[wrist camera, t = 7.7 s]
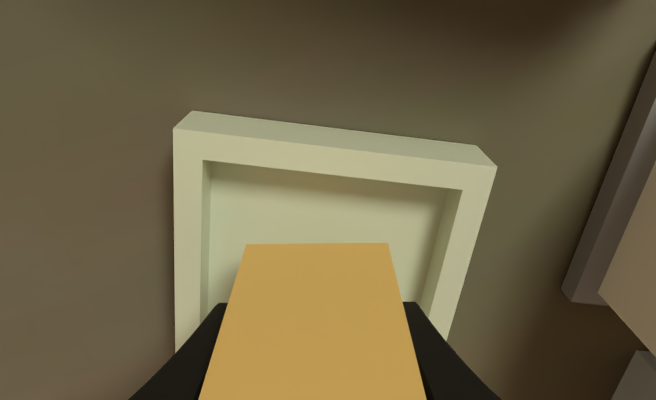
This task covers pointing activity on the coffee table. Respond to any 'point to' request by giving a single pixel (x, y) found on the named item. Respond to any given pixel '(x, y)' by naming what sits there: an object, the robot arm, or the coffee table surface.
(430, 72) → the coffee table surface
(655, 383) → the slate block
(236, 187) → the sage tray
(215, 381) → the ochre block
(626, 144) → the cream unit
